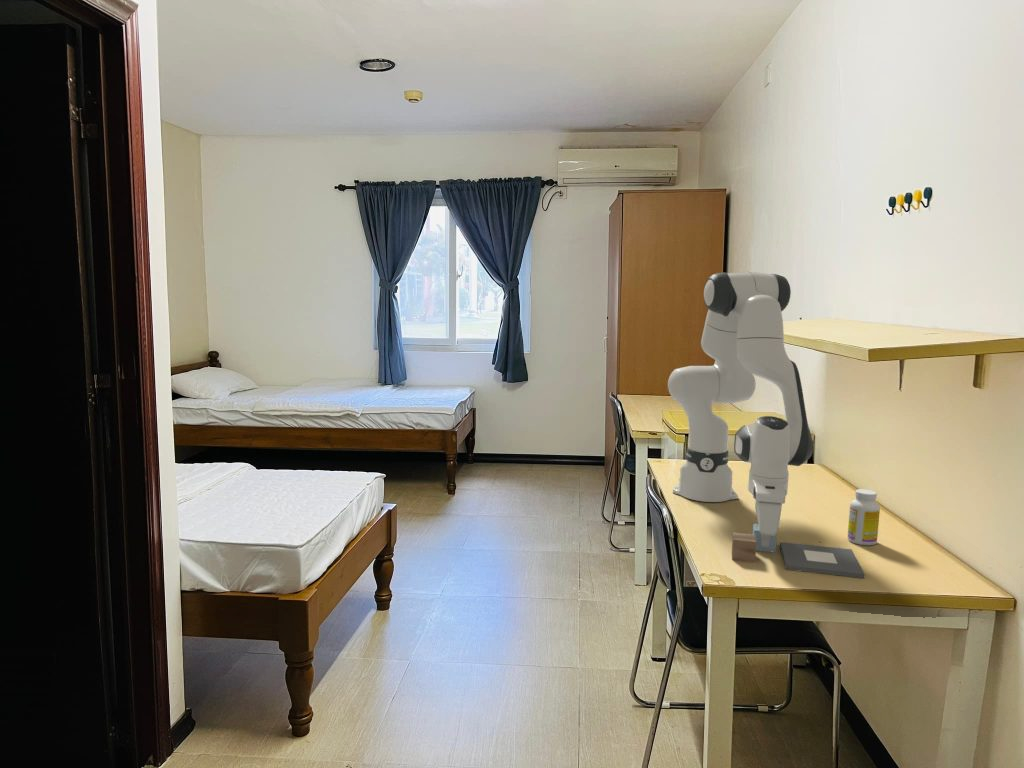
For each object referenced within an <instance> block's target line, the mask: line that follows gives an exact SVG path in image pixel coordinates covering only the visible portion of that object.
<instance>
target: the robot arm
mask: <svg viewBox="0 0 1024 768" xmlns="http://www.w3.org/2000/svg"><path fill="white" fill-rule="evenodd" d="M791 292H792V290H791V284H790V283H789V280H788V279H787V278H786V277H785V276H782V275H780V274H777V273H763V272H756V271H747V272H729V273H728V272H718V273H714V274H711V275H710V276H709V277H708V279H707V280H706V282H705V284H704V289H703V301H704V302H703V303H704V304H705V306H706V308H707V309H708V311H707V313H706V317H705V322H704V325H703V326H704V327H703V330H702V334H701V340H700V346H701V349H702V351H703V353H704V354H706V356H709V357H710V358H711V359H713V360H715V361H714V364H713V365H688V366H683V367H682V366H681V367H679V368H675V369H673V371H671V373H670V375H669V378H668V380H667V390H668V392H669V393H668V394H669V395H670V397H671V398H672V399H673V400H674V401H675V402H676V403H677V404H679V405H680V407H681V408H682V409H683V411H684V412H685V415H686V417H687V421H688V422H687V423H688V447H687V448H686V453H685V455H686V457H685V459H686V461H685V463H683V464H682V466H681V467H680V469H679V479H678V481H679V482H678V484H677V485H675V487H674V488H673V489H672V493H673V494H676V495H680V496H681V497H683V498H686V499H690V500H694V501H697V502H703V503H704V502H705V503H721V502H726V501H730V500H737V499H739V494H738V493H737V492H736V491H735V489H734V488H733V470H732V469H731V467H729V464H728V463H729V457H730V456H729V450H728V444H729V443H728V442H729V441H728V440H729V426H728V423H727V422H726V420H725V419H724V418H722V417H720V416H718V415H717V414H714V413H713V410H712V404H735V403H740V402H744V401H747V400H749V399H750V398H752V396H753V395H754V392H755V390H756V378H755V376H757V377H759V378H762V379H764V380H767V381H769V382H771V383H773V384H774V385H775V386H777V387H778V388H779V390H780V392H781V394H782V400H783V406H784V411H785V419H783V418H781V417H777V416H773V415H772V416H771V415H765V416H764V415H763V416H760V417H758V418H756V419H755V420H754V423H751V424H746V425H742V426H740V428H739V429H738V430H737V431H736V432H735V434H734V442H733V443H734V446H733V449H734V451H733V452H734V454H735V455H736V456H737V457H738V458H739V459H740V460H741V461H743V462H744V463H749V464H750V468H749V474H748V485H747V486H748V487H747V490H748V492H749V493H750V494H751V495H752V498H753V499H754V500H755V503H754V504H755V514H756V517H757V518H756V519H757V524H758V525H759V530H760V534H761V545H762V546H764V547H768V546H769V541H770V537H771V536H776V537H777V535H778V534H777V533H778V532H779V531H778V530H779V525H780V520H781V515H782V507H783V506H782V505H783V504H785V503H786V497H787V495H788V486H789V475H790V474H789V468H788V466H794V467H795V466H796V467H799V466H801V465H803V464H805V463H806V462H807V461H808V460H809V459H810V458H811V457H812V455H813V451H814V443H813V437H812V434H811V430H810V427H809V423H808V418H807V413H806V412H807V410H806V405H805V398H804V392H803V386H802V381H801V376H800V372H799V369H798V366H797V364H796V362H795V361H793V360H792V359H790V357H789V356H788V354H787V351H786V349H785V344H784V343H785V342H784V323H783V313H782V312H783V311H784V310H785V309H786V308H787V306H788V305H789V303H790V299H791Z"/></svg>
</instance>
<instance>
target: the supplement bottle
mask: <svg viewBox="0 0 1024 768" xmlns="http://www.w3.org/2000/svg"><path fill="white" fill-rule="evenodd" d="M854 495H855V499H852V500H850V504H849V511H848V512H849V514H848V525H847V539H848V541H850V542H851V543H852V544H856V545H858V546H859V545H860V546H870V547H871V546H874V545H876V544H877V543H878V537H879V536H878V534H879V525H880V524H879V522H880V514H881V513H880V512H881V506H880V504H879V503H878V502H877V501H876V499H877V492H876V491H874V490H871V489H866V488H858V489H856V490H855V494H854Z"/></svg>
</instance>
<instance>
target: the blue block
mask: <svg viewBox="0 0 1024 768" xmlns="http://www.w3.org/2000/svg"><path fill="white" fill-rule="evenodd" d="M752 534H754V535H755V537H756V551H757V550H759V552H766V551H773V552H772V553H776V546H777V545H776V543H777V535H776V536H771V537H770V541H769V546H768V547H764V546H762V545H761V534H760V530H759V525H758V523H752Z"/></svg>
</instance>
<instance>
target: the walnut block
mask: <svg viewBox="0 0 1024 768" xmlns="http://www.w3.org/2000/svg"><path fill="white" fill-rule="evenodd" d="M756 551H757V550H756V537H755V535H754V534H753V533H742V532H734V531H733V532H732V540H731V560H732V561H738V562H746V563H754V564H755V563H756Z"/></svg>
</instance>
